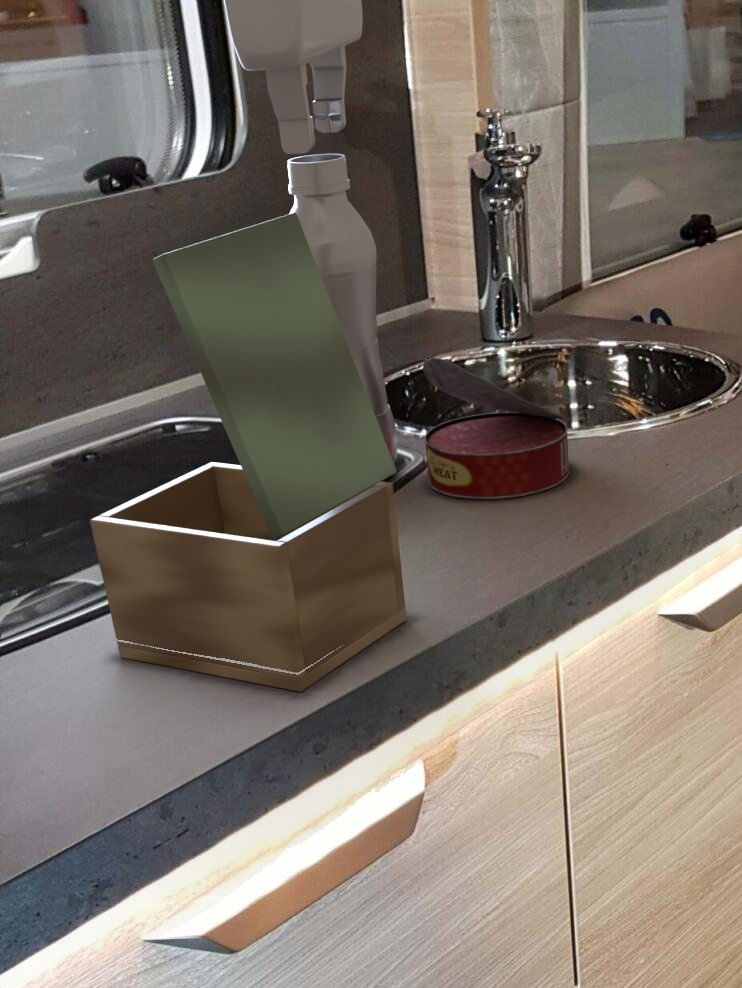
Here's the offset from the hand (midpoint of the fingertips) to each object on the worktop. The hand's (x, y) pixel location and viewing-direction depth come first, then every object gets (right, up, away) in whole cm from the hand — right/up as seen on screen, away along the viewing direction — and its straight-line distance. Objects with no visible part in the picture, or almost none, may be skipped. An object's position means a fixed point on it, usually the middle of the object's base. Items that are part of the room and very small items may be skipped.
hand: (316, 141), depth 96 cm
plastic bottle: (+1, -17, +13) cm, 21 cm away
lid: (0, -23, -20) cm, 30 cm away
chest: (-2, -33, -10) cm, 35 cm away
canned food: (+11, -17, +11) cm, 23 cm away
